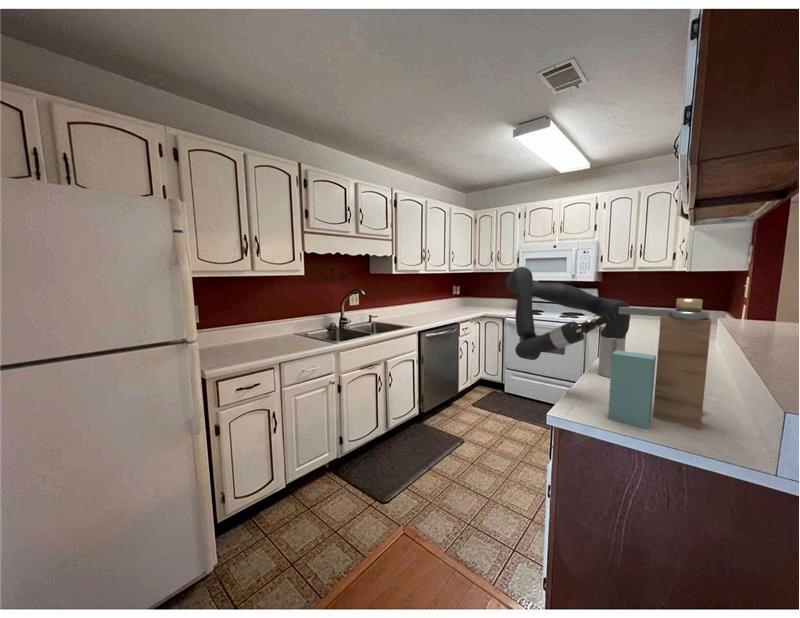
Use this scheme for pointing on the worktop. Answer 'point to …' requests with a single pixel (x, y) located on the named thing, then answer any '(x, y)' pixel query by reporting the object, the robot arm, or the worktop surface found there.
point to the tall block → (631, 388)
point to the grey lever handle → (673, 310)
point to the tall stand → (681, 370)
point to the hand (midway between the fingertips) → (611, 316)
